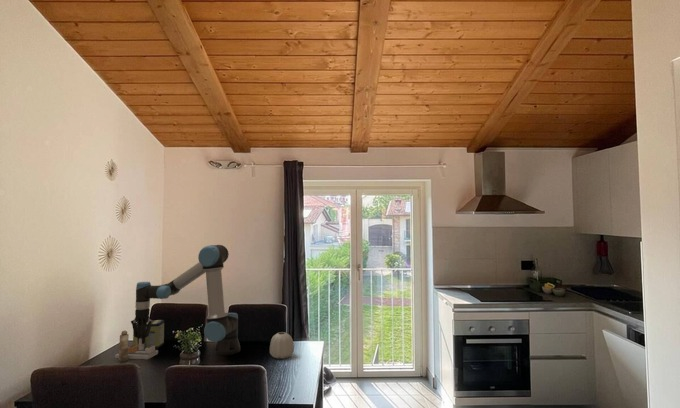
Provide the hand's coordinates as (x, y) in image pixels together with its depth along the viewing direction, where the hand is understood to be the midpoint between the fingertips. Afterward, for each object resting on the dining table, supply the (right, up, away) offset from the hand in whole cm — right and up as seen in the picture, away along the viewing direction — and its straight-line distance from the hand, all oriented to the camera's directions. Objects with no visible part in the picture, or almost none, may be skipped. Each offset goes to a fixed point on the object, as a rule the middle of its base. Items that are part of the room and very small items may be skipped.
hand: (141, 349), depth 226 cm
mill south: (-5, -5, +8) cm, 10 cm away
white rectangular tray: (-2, -4, 0) cm, 4 cm away
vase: (+83, -3, -3) cm, 83 cm away
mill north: (-6, -3, -8) cm, 10 cm away
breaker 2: (+6, -1, -1) cm, 6 cm away
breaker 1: (-5, -2, 0) cm, 6 cm away
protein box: (-5, -6, +18) cm, 20 cm away
